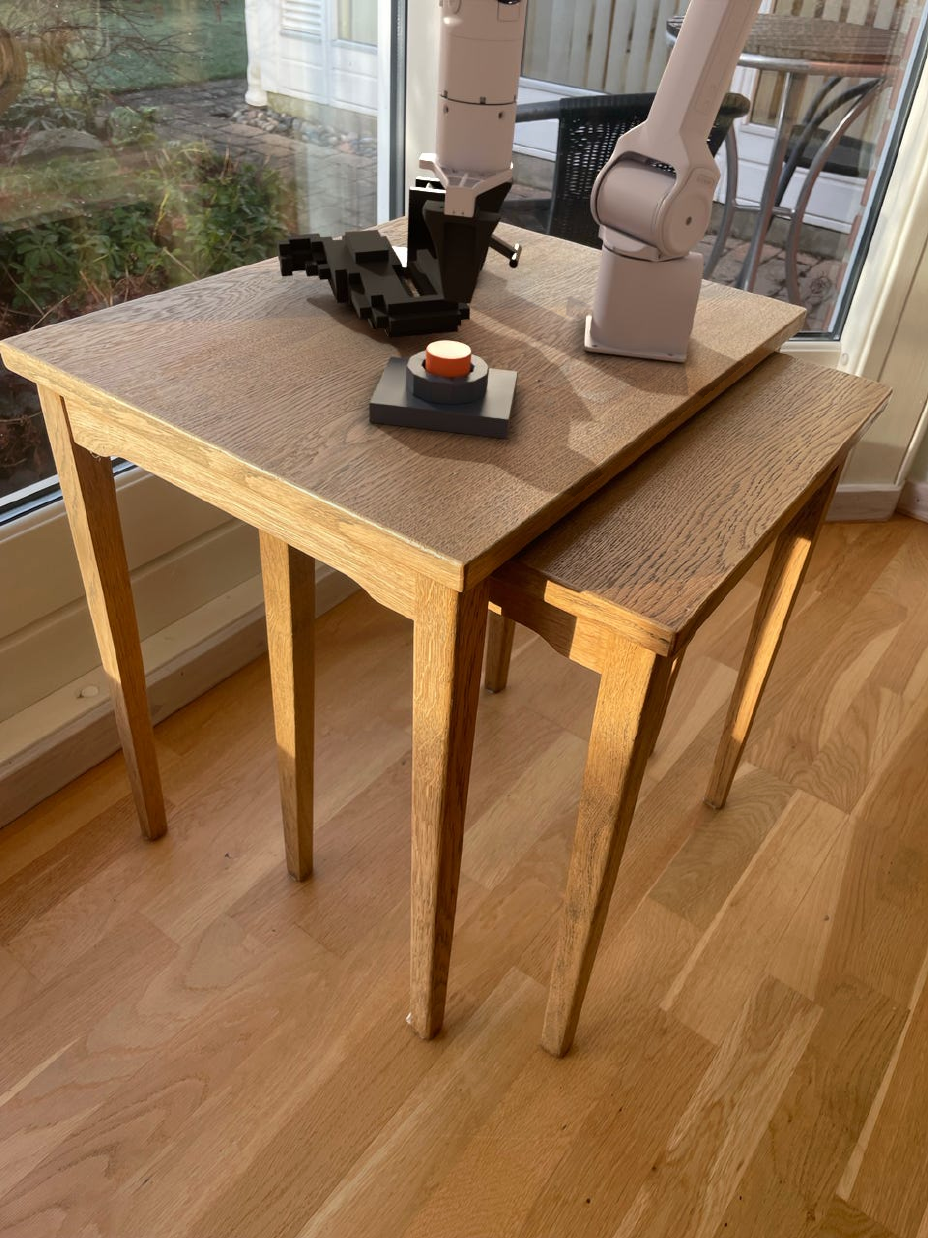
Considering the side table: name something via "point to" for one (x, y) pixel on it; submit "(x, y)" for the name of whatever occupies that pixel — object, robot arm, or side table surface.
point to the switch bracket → (419, 220)
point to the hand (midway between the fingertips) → (463, 283)
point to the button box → (445, 398)
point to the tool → (376, 281)
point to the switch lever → (500, 245)
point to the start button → (448, 359)
